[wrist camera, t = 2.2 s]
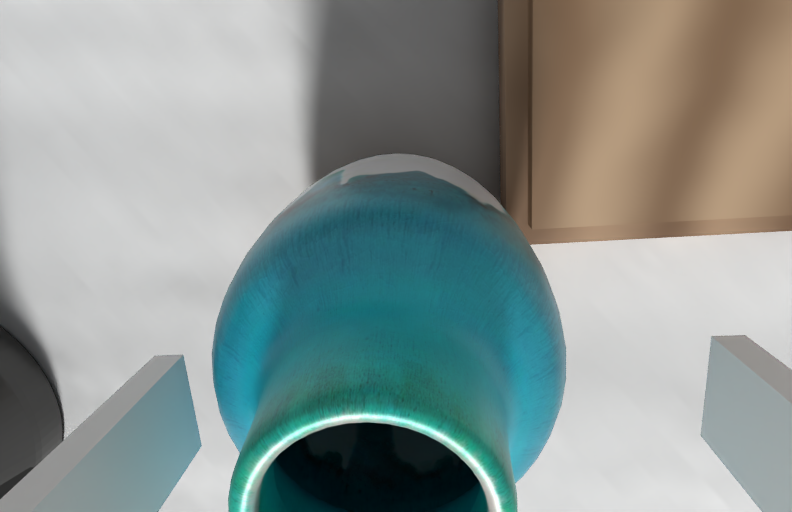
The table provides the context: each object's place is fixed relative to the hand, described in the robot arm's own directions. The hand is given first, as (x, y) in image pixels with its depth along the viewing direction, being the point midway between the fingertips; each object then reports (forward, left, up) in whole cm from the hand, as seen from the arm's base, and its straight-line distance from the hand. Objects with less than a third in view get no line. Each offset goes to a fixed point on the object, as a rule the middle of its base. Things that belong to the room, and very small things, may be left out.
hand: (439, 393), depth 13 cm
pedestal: (+12, +8, -15) cm, 21 cm away
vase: (-2, 0, -15) cm, 15 cm away
